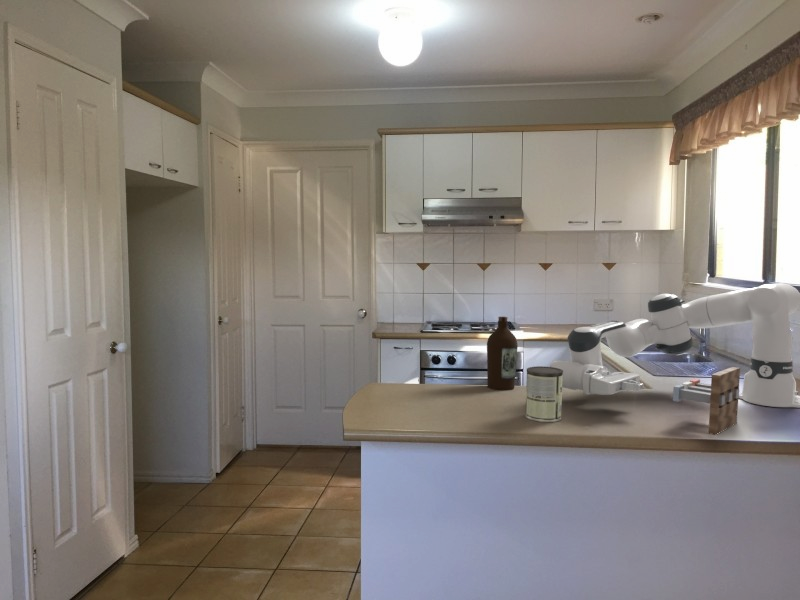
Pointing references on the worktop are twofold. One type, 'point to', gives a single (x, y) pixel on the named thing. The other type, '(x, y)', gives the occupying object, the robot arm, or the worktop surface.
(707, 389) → the off-white plunger
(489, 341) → the olive oil
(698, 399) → the blue-capped grey rod
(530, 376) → the coffee can
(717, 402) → the walnut panel
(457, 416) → the worktop surface
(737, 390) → the brick-red plunger
